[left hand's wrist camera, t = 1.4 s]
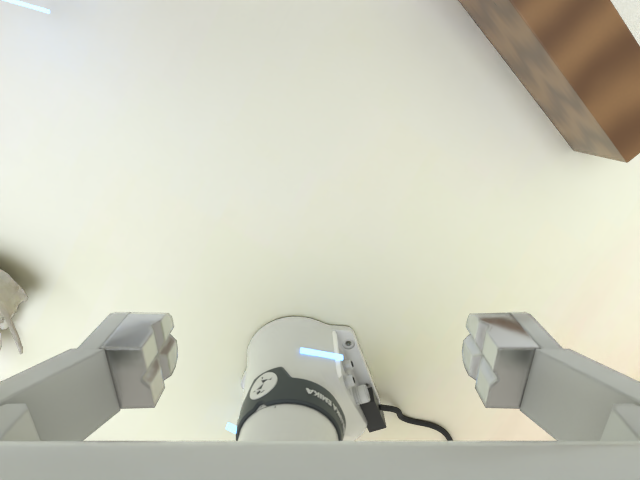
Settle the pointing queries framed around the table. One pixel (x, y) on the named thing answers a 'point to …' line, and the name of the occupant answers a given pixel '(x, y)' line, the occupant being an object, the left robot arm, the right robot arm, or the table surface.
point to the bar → (572, 67)
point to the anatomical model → (10, 305)
